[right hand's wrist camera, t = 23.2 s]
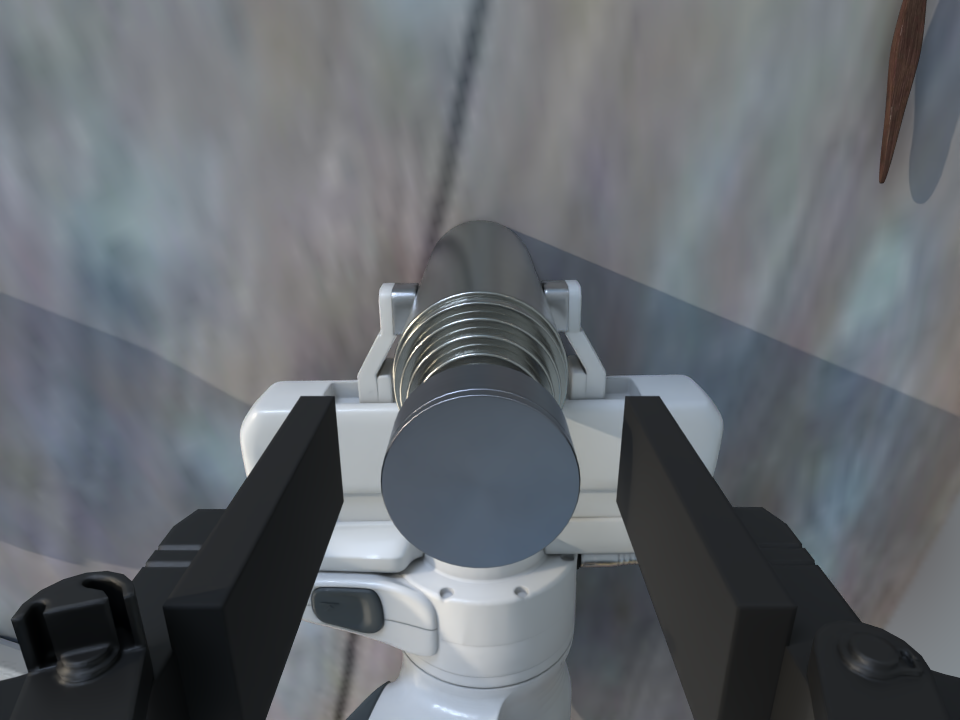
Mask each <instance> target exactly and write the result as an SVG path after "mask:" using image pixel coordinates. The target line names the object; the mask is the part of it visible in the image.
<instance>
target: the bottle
mask: <svg viewBox="0 0 960 720" xmlns="http://www.w3.org/2000/svg"><path fill="white" fill-rule="evenodd" d="M469 364H492V365H499V366H503V367H508V368H511V369H514V370H516V371H519V372H521V373H523V374H525V375H527V376H529V377H531V378H532V379H534V380H535V381H537V382H538V383H539V384H541V385H542V386H543V387H544V388H545V389H546V390H547V391H548V392H549V393H550V394H551V395H552V396H553V398H554V399H555V400H556V401H557V403H558V405H559V406H560V408H561V410H562V409H563V406H564V403H565V399H566V394H567V386H568V376H569V369H568V360H567V355H566V351H565V348H564V345H563V343H562V340H561V337H560V335H559V332H558V329H557V327H556V324H555V321H554V319H553V316H552V313H551V311H550V308H549V305H548V303H547V300H546V297H545V295H544V292H543V289H542V287H541V284H540V281H539V279H538V276H537V273H536V271H535V268H534V265H533V263H532V260H531V257H530V255H529V252H528V250H527V248H526V246H525V244H524V243H523V242H522V240H521V239H520V238H519V237H518V236H517V235H516V234H515V233H514V232H513V231H511V230H510V229H508V228H507V227H505V226H503V225H500V224H498V223H495V222H491V221H470V222H466V223H463V224H460V225H458V226H456V227H454V228H452V229H451V230H449V231H448V232H447V233H446V234H445V235H444V236H443V237H442V238H441V239H440V240H439V241H438V243H437V244H436V246H435V247H434V249H433V252H432V254H431V256H430V259H429V262H428V265H427V267H426V270H425V273H424V275H423V278H422V281H421V283H420V286H419V289H418V291H417V294H416V297H415V299H414V302H413V305H412V307H411V310H410V313H409V315H408V318H407V321H406V323H405V326H404V329H403V332H402V334H401V337H400V340H399V342H398V345H397V348H396V351H395V355H394V359H393V368H392V376H393V386H394V394H395V400H396V403H397V406H398V409H399V410H400V408H401V407H402V405H403V403H404V402H405V400H406V399H407V398H408V396H409V395H410V394H411V393H412V392H413V391H414V390H415V389H416V388H417V387H418V386H419V385H420V384H422V383H423V382H425V381H426V380H427V379H429V378H431V377H432V376H434V375H436V374H438V373H440V372H442V371H445V370H447V369H450V368H454V367H458V366H462V365H469Z"/></svg>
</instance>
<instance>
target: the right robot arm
mask: <svg viewBox="0 0 960 720" xmlns="http://www.w3.org/2000/svg"><path fill="white" fill-rule="evenodd" d="M343 503H344V496H343V485H342V473H341V462H340V450H339V439H338V427H337V416H336V404H335V396H300V398H299V399H298V401H297V402H296V404H295V405H294V407H293V408H292V410H291V411H290V413H289V414H288V416H287V417H286V419H285V421H284V422H283V424H282V425H281V427H280V428H279V430H278V431H277V433H276V434H275V436H274V437H273V439H272V440H271V442H270V443H269V445H268V446H267V448H266V449H265V451H264V452H263V454H262V455H261V457H260V459H259V460H258V462H257V463H256V465H255V466H254V468H253V469H252V471H251V472H250V474H249V475H248V477H247V478H246V480H245V481H244V483H243V484H242V486H241V487H240V489H239V490H238V492H237V494H236V495H235V497H234V498H233V500H232V501H231V503H230V504H229V506H228V507H227V509H198V510H196V511H195V512H194V513H192V514H191V515H189V516H188V517H186V518H185V519H183V520H182V521H181V522H179V523H178V524H176V525H175V526H174V527H173V528H172V529H171V531H170V532H169V533H168V534H167V536H166V537H165V538H164V540H163V541H162V542H161V544H160V545H159V546H158V547H159V548H158V550H155V552H154V553H153V554H152V556H151V557H150V558H149V559H148V561H147V562H146V566H145V567H142V569H141V570H140V571H139V573H138V574H137V575H136V577H135V578H134V579H133V581H131V580H130V579H128V578H127V577H126V576H125V575H124V574H119V573H114V572H110V571H102V572H90V573H84V574H80V575H77V576H73V577H70V578H66V579H63V580H61V581H59V582H57V583H55V584H53V585H51V586H49V587H47V588H45V589H43V590H41V591H39V592H38V593H37V594H35V595H34V596H33V597H32V598H30V599H29V600H28V601H26V602H25V603H24V604H22V606H21V607H20V608H19V610H18V611H17V612H16V614H15V615H14V616H13V617H12V619H11V621H12V624H13V627H14V630H15V633H16V637H17V640H18V643H19V646H20V649H21V652H22V655H23V658H24V661H25V664H26V667H27V671H28V673H27V674H24V675H20V676H17V677H13V678H9V679H5V680H1V681H0V720H266V717H267V714H268V711H269V708H270V706H271V703H272V700H273V697H274V695H275V692H276V689H277V686H278V683H279V681H280V678H281V675H282V672H283V670H284V667H285V664H286V661H287V658H288V656H289V653H290V650H291V647H292V645H293V642H294V639H295V636H296V633H297V631H298V628H299V625H300V622H301V619H302V617H303V614H304V611H305V608H306V606H307V603H308V600H309V597H310V594H311V592H312V589H313V586H314V583H315V581H316V578H317V575H318V572H319V569H320V567H321V564H322V561H323V558H324V556H325V553H326V550H327V547H328V544H329V542H330V539H331V536H332V533H333V531H334V528H335V525H336V522H337V519H338V517H339V514H340V511H341V508H342V505H343ZM616 503H617V505H618V508H619V511H620V514H621V517H622V519H623V522H624V525H625V528H626V531H627V533H628V536H629V539H630V542H631V544H632V547H633V550H634V553H635V556H636V558H637V561H638V564H639V567H640V569H641V572H642V575H643V578H644V581H645V583H646V586H647V589H648V592H649V594H650V597H651V600H652V603H653V606H654V608H655V611H656V614H657V617H658V619H659V622H660V625H661V628H662V631H663V633H664V636H665V639H666V642H667V645H668V647H669V650H670V653H671V656H672V658H673V661H674V664H675V667H676V670H677V672H678V675H679V678H680V681H681V683H682V686H683V689H684V692H685V695H686V697H687V700H688V703H689V706H690V708H691V711H692V714H693V717H694V720H960V678H958V677H954V676H950V675H945V674H942V673H939V672H936V671H932V670H930V668H929V667H928V665H927V663H926V662H925V661H924V659H923V657H922V656H921V655H920V654H919V653H918V652H916V651H915V650H914V649H913V648H912V647H911V646H909V645H908V644H907V643H906V642H905V641H903V640H902V639H900V638H898V637H896V636H894V635H893V634H891V633H889V632H887V631H885V630H883V629H881V628H878V627H875V626H872V625H868V624H865V623H862V622H861V621H860V619H859V618H858V617H857V616H856V614H855V613H854V612H853V610H852V609H851V608H850V606H849V605H848V604H847V602H846V601H845V600H844V599H843V597H842V596H841V595H840V593H839V592H838V591H837V589H836V588H835V587H834V585H833V584H832V583H831V582H830V580H829V579H828V578H827V576H826V575H825V574H824V572H823V571H822V570H821V568H820V567H819V566H818V565H815V561H814V559H813V558H812V557H811V555H810V554H809V553H808V551H807V550H806V549H805V548H802V544H801V542H800V541H799V540H798V538H797V537H796V536H795V534H794V533H793V532H792V531H791V529H790V528H789V527H788V525H787V524H786V523H784V522H783V521H781V520H780V519H778V518H777V517H775V516H774V515H773V514H771V513H770V512H768V511H767V510H765V509H764V508H762V507H732V506H731V504H730V503H729V501H728V500H727V498H726V497H725V495H724V494H723V492H722V490H721V489H720V487H719V486H718V484H717V483H716V481H715V480H714V478H713V477H712V475H711V474H710V472H709V471H708V469H707V468H706V466H705V465H704V463H703V462H702V460H701V459H700V457H699V456H698V454H697V452H696V451H695V449H694V448H693V446H692V445H691V443H690V442H689V440H688V439H687V437H686V436H685V434H684V433H683V431H682V430H681V428H680V427H679V425H678V424H677V422H676V421H675V419H674V417H673V416H672V414H671V413H670V411H669V410H668V408H667V407H666V405H665V404H664V402H663V401H662V399H661V398H660V396H625V404H624V416H623V427H622V439H621V450H620V462H619V473H618V485H617V496H616Z"/></svg>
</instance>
